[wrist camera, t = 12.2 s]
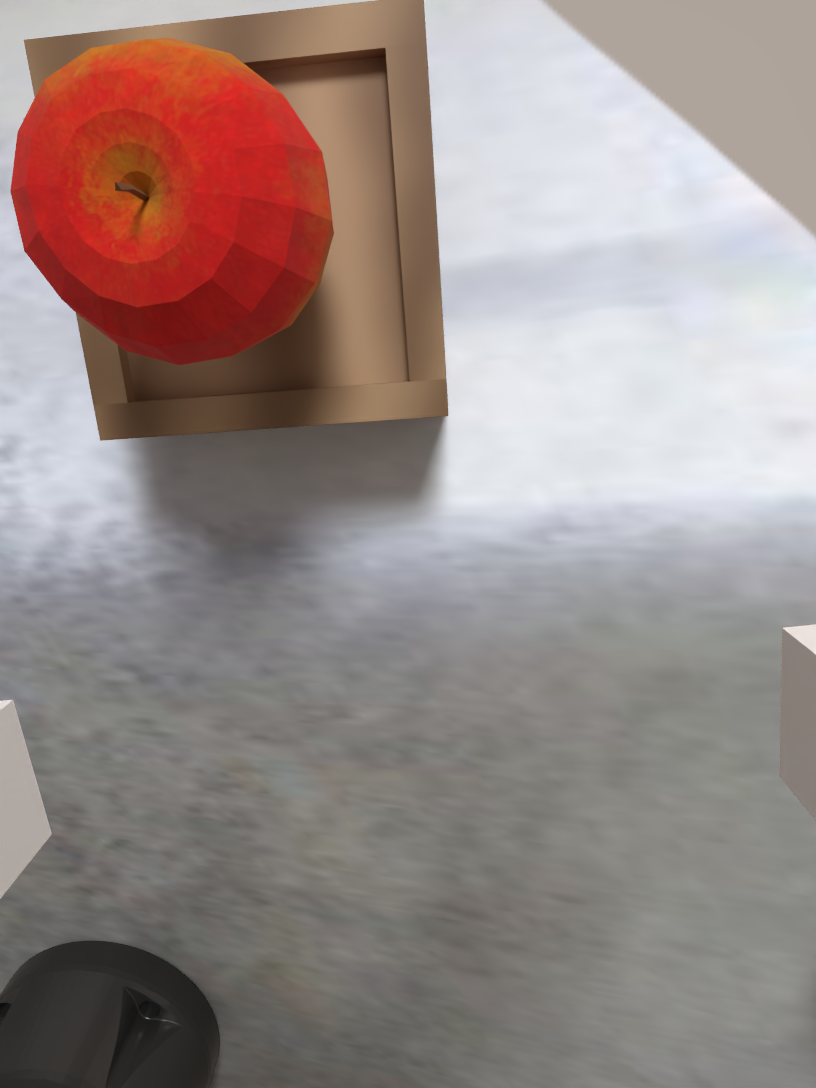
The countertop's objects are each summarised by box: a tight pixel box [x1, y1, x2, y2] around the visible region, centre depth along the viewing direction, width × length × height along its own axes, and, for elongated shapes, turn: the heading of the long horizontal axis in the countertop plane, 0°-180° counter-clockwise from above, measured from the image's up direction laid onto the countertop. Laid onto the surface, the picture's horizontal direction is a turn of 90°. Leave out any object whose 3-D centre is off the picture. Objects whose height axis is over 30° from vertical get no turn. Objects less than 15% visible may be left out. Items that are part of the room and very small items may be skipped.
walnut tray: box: [24, 0, 448, 440], centre depth 31 cm, size 15×15×7 cm
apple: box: [11, 38, 334, 365], centre depth 23 cm, size 9×9×12 cm
